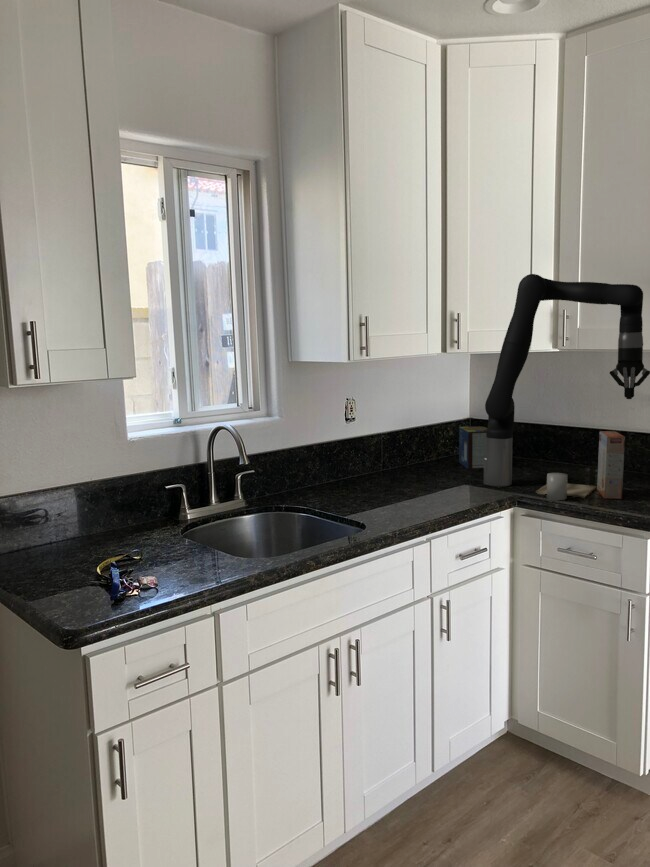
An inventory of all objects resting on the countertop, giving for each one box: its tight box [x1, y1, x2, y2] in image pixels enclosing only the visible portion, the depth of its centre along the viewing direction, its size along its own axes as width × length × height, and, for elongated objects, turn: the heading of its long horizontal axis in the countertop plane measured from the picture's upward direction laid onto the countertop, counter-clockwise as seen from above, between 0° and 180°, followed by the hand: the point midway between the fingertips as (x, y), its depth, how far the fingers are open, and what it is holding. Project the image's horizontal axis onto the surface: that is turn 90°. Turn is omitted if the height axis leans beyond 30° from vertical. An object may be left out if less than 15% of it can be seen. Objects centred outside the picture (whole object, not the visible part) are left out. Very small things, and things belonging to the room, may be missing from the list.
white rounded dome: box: [545, 472, 568, 501], centre depth 237 cm, size 6×6×8 cm
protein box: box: [458, 425, 487, 470], centre depth 299 cm, size 10×15×16 cm
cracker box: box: [596, 430, 626, 500], centre depth 240 cm, size 14×6×21 cm, turn 168°
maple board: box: [535, 482, 597, 499], centre depth 248 cm, size 16×18×1 cm
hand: (629, 398), depth 240 cm, fingers closed
